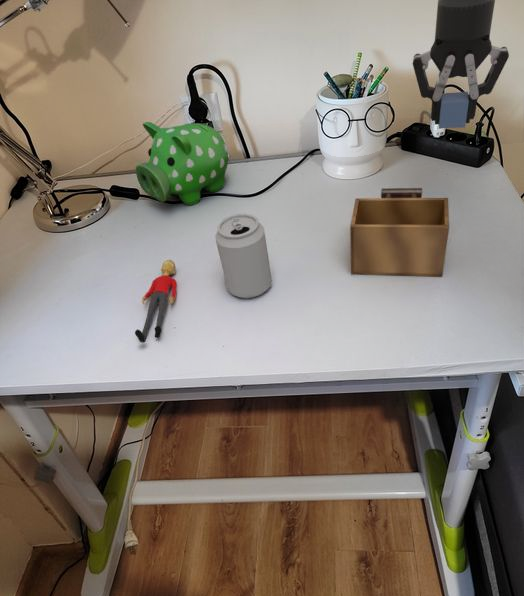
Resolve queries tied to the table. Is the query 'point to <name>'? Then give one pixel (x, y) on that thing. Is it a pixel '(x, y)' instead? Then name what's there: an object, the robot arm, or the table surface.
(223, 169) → the piggy bank
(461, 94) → the slate blue cube
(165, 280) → the person figure
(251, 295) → the can
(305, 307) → the table surface
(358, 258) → the drawer
